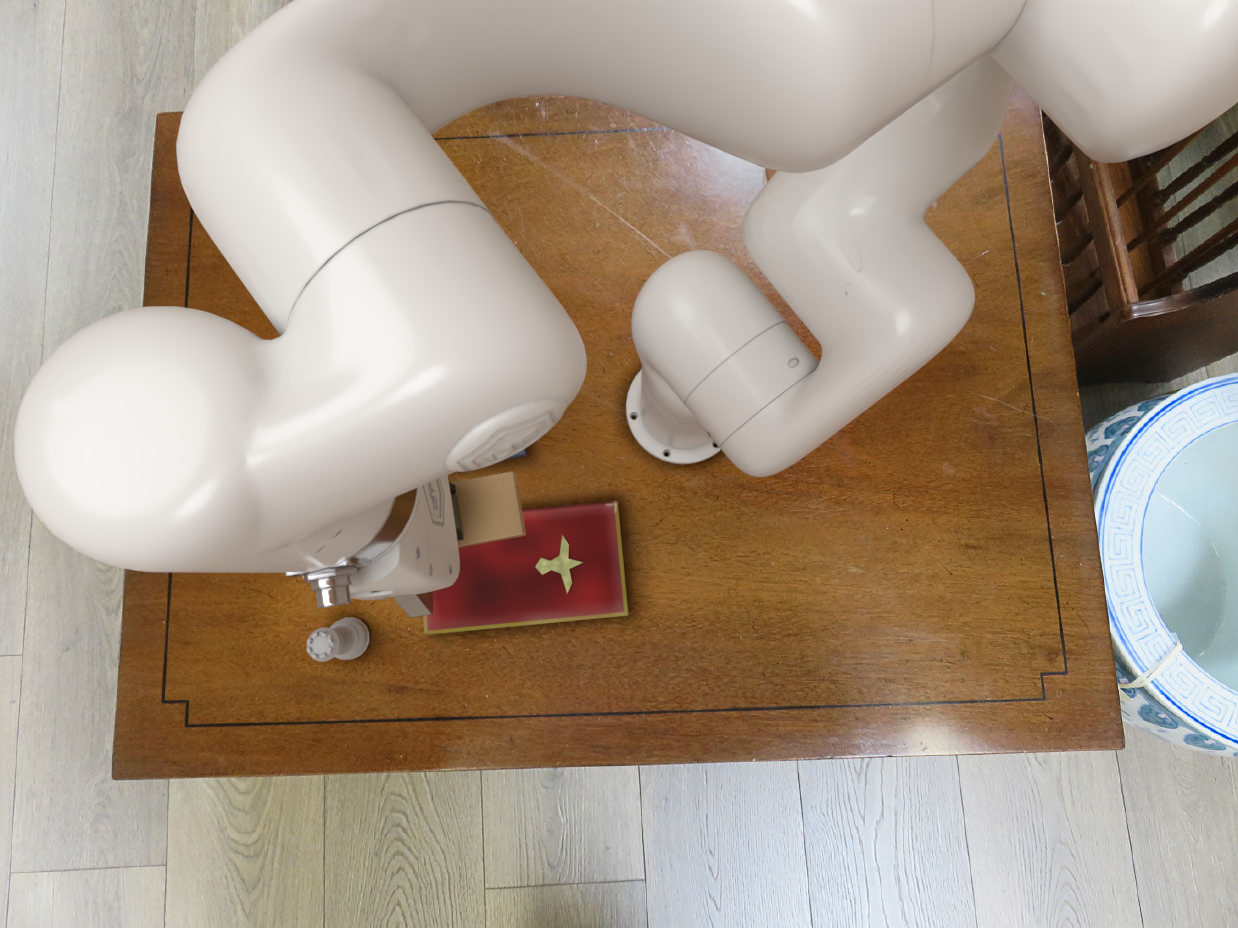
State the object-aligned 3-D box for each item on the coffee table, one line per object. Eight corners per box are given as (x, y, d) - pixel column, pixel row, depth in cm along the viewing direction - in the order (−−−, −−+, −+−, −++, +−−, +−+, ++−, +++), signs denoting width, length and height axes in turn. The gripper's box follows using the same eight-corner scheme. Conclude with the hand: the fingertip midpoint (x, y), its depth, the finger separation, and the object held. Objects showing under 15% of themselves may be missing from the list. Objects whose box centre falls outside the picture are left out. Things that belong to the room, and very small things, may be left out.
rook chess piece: (355, 667, 78) (324, 678, 70) (321, 644, 78) (286, 652, 70) (379, 631, 78) (350, 638, 70) (345, 608, 78) (313, 613, 71)
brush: (520, 477, 53) (496, 457, 44) (530, 536, 53) (508, 528, 43) (372, 505, 53) (317, 490, 44) (380, 564, 52) (326, 562, 43)
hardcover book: (428, 520, 80) (416, 517, 76) (618, 502, 80) (617, 498, 75) (434, 631, 78) (423, 635, 74) (628, 613, 78) (628, 615, 74)
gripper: (438, 658, 30) (511, 625, 48) (385, 290, 32) (473, 392, 50) (257, 692, 30) (398, 647, 48) (217, 321, 32) (366, 412, 50)
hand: (436, 516), depth 49 cm, fingers closed on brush, 2 cm apart
